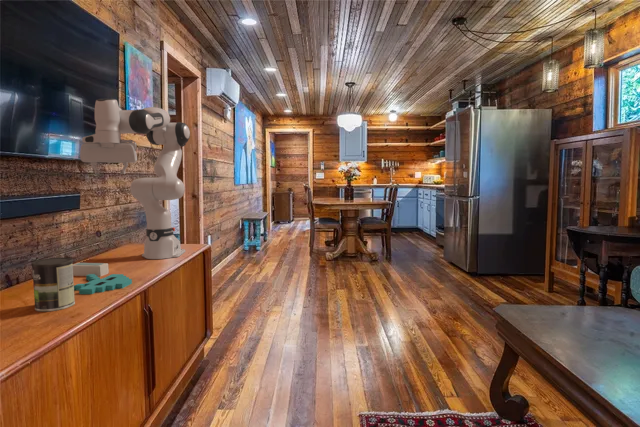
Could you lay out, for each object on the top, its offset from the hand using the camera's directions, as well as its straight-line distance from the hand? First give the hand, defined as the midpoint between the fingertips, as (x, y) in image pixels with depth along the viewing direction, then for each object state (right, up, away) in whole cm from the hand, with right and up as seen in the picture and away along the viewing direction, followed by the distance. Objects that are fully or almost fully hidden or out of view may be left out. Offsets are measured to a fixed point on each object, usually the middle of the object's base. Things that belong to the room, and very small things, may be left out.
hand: (110, 174), depth 155 cm
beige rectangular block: (-9, -41, +1) cm, 42 cm away
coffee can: (+4, -45, -38) cm, 58 cm away
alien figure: (+5, -43, -16) cm, 46 cm away
